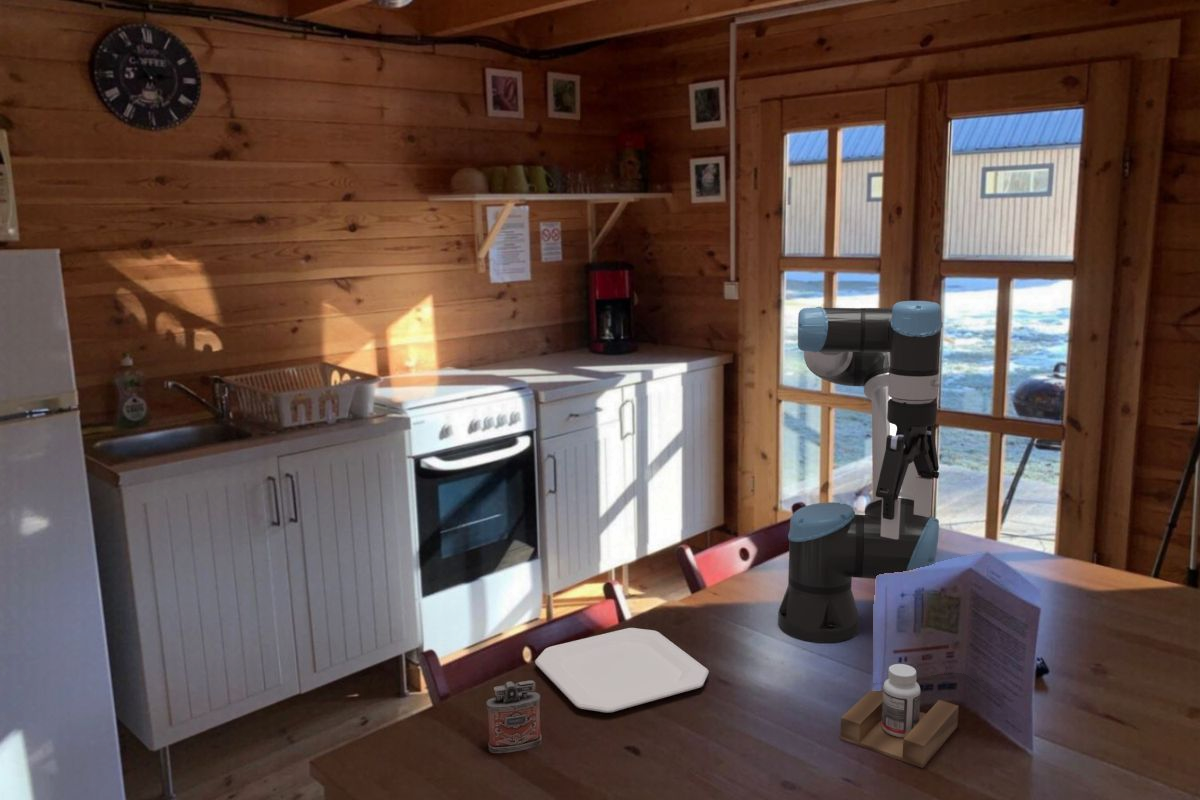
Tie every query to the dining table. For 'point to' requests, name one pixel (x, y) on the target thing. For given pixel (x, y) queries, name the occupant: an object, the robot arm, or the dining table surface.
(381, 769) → the dining table surface
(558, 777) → the dining table surface
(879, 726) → the groove block
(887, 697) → the pill bottle
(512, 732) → the lighter
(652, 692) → the plate
